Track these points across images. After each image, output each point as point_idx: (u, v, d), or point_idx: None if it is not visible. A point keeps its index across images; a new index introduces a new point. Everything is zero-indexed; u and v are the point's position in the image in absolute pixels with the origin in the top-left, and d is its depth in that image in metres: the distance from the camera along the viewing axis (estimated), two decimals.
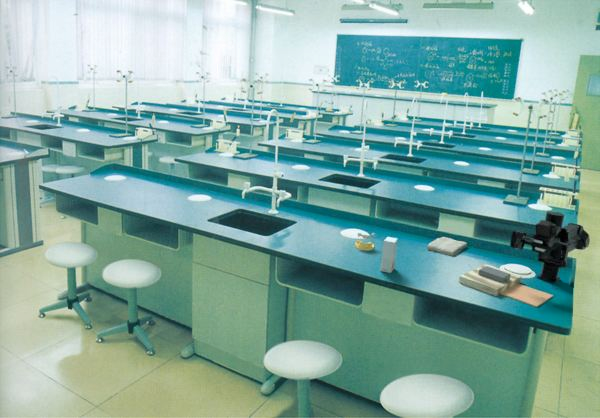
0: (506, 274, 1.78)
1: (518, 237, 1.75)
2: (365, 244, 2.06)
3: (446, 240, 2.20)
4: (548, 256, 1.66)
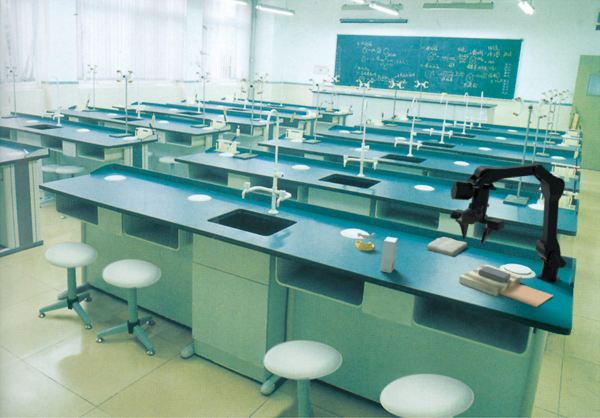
0: (506, 274, 1.78)
1: (460, 224, 1.85)
2: (365, 244, 2.06)
3: (446, 240, 2.20)
4: (487, 237, 1.81)
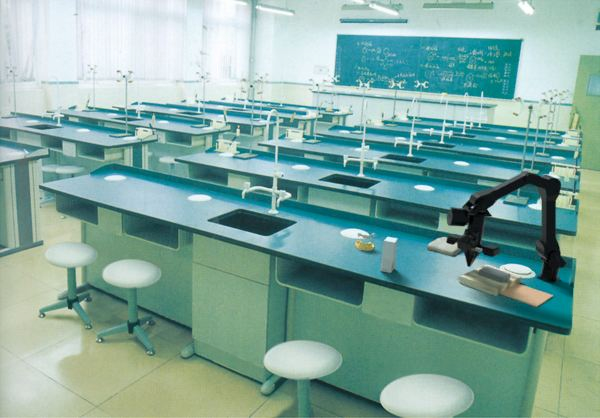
0: (506, 274, 1.78)
1: (464, 252, 1.85)
2: (365, 244, 2.06)
3: None
4: (474, 259, 1.86)
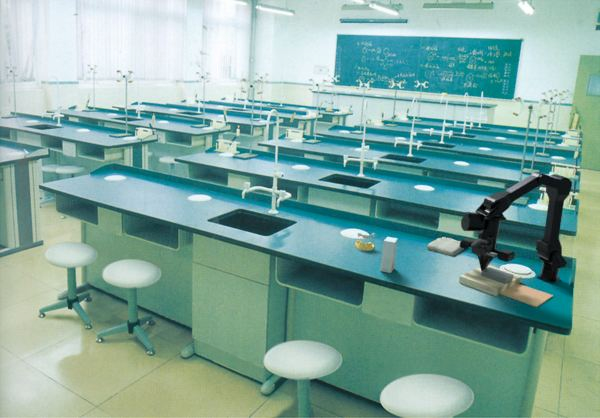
0: (509, 275, 1.77)
1: (478, 256, 1.82)
2: (365, 244, 2.06)
3: (447, 240, 2.20)
4: (488, 264, 1.82)
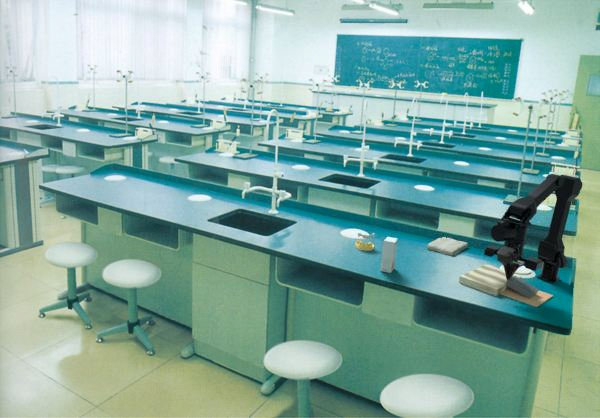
0: (534, 289, 1.71)
1: (503, 265, 1.75)
2: (365, 244, 2.06)
3: (447, 240, 2.20)
4: None
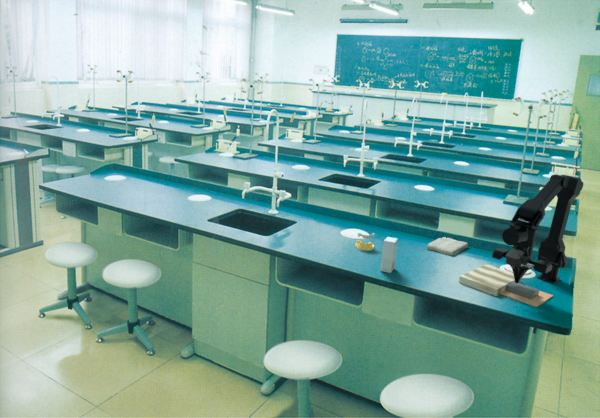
0: (535, 290, 1.71)
1: (512, 267, 1.73)
2: (365, 244, 2.06)
3: (447, 240, 2.20)
4: (523, 275, 1.73)
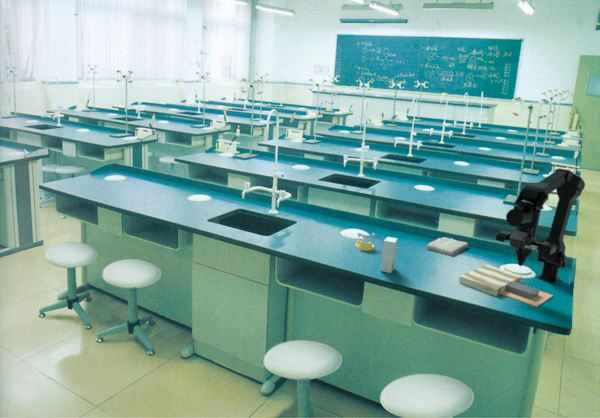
0: (535, 290, 1.71)
1: (516, 250, 1.71)
2: (365, 244, 2.06)
3: (447, 240, 2.20)
4: (526, 258, 1.71)
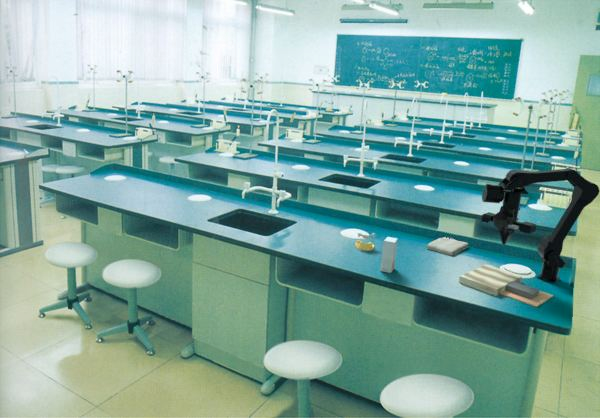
0: (535, 290, 1.71)
1: (499, 230, 1.86)
2: (365, 244, 2.06)
3: (447, 240, 2.20)
4: (509, 237, 1.86)
